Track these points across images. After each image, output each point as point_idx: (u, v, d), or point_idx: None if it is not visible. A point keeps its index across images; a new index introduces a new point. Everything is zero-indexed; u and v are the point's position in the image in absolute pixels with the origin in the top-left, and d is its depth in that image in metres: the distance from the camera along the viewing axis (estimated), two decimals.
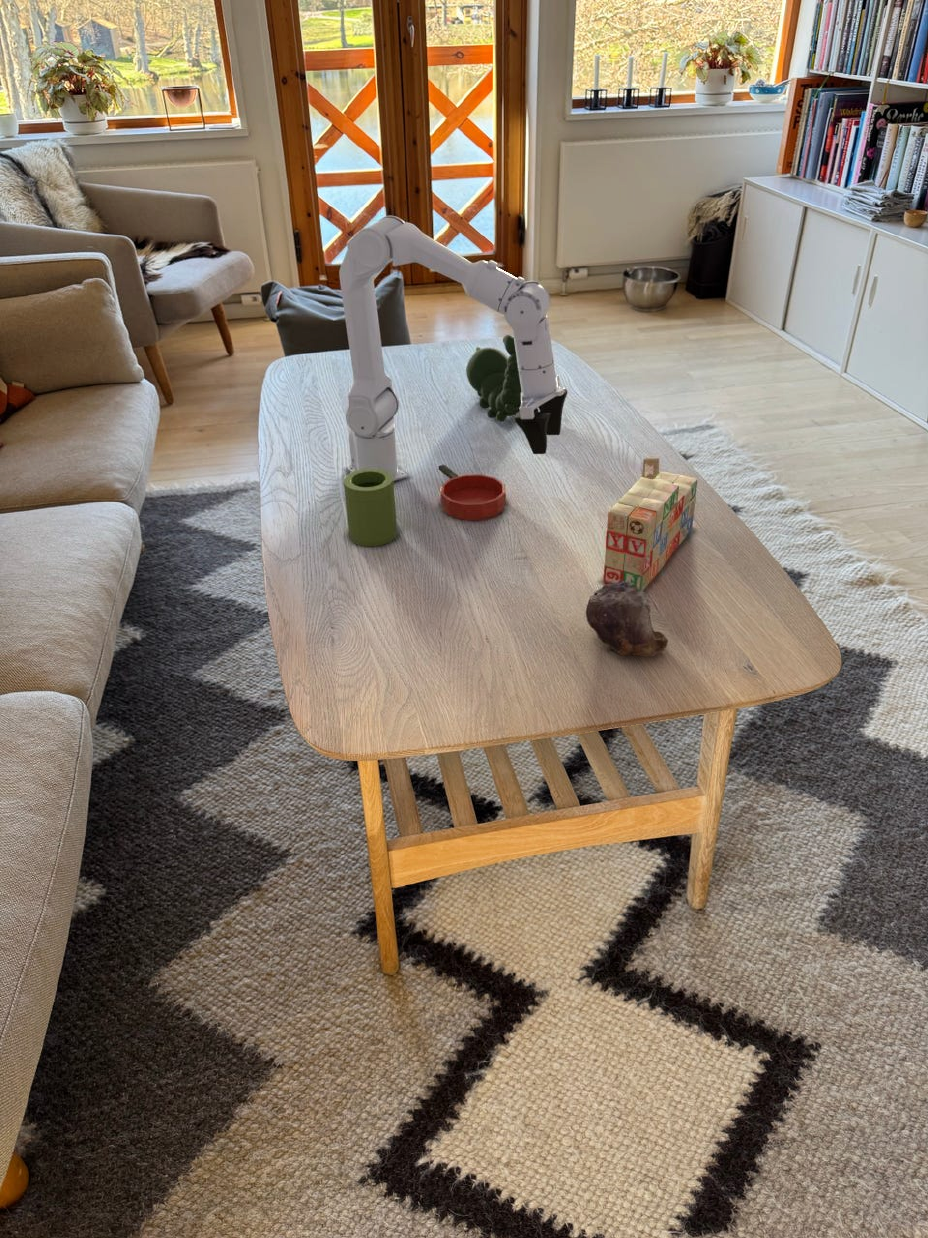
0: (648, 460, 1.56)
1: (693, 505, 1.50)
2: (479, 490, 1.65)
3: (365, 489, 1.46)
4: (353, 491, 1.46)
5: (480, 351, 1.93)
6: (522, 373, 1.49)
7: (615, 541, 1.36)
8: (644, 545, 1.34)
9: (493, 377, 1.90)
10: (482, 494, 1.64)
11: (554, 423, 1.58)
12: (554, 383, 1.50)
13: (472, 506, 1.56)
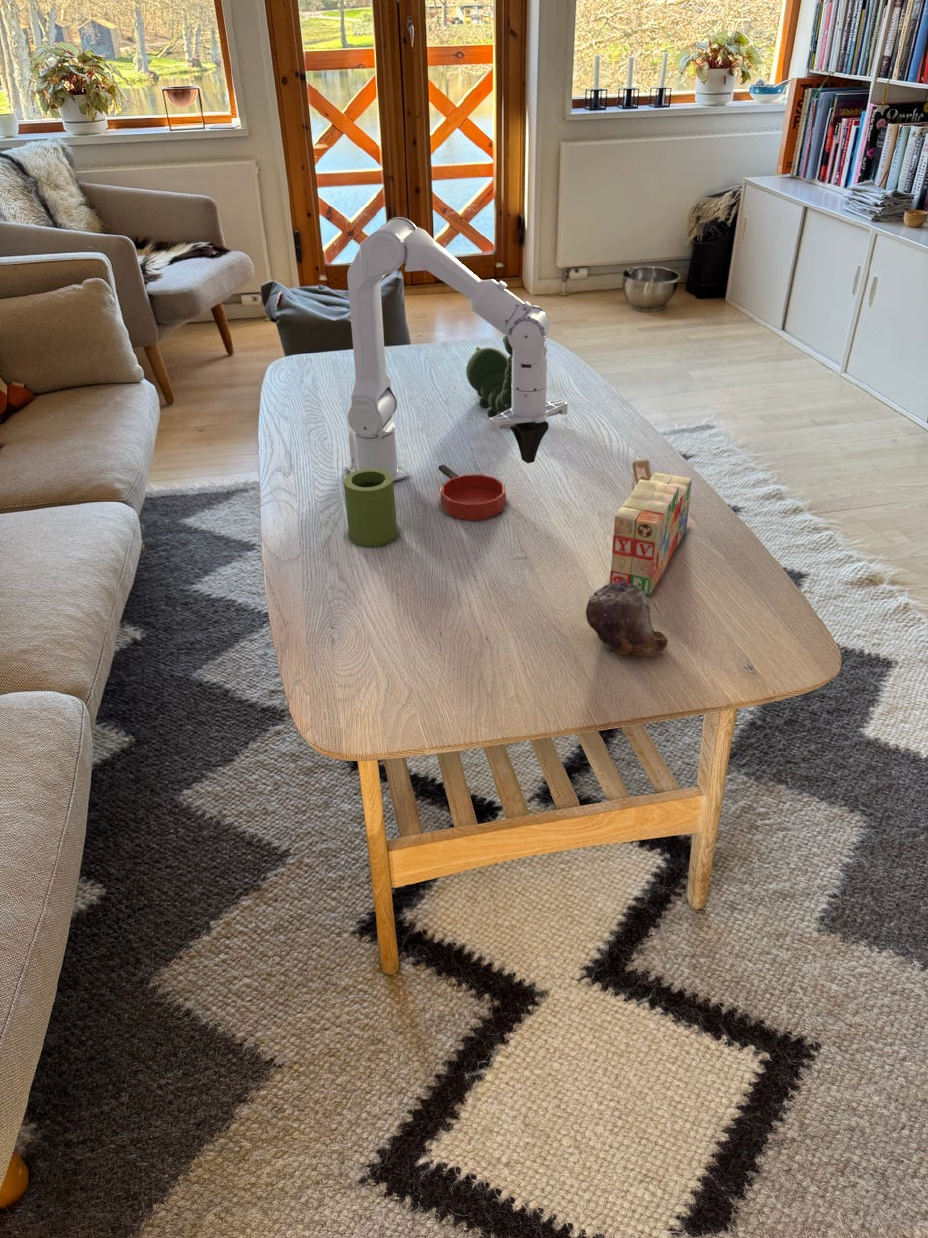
0: (638, 462, 1.55)
1: (688, 505, 1.50)
2: (479, 490, 1.65)
3: (365, 489, 1.46)
4: (353, 491, 1.46)
5: (480, 351, 1.93)
6: None
7: (622, 545, 1.35)
8: (652, 548, 1.33)
9: (493, 377, 1.90)
10: (482, 494, 1.64)
11: None
12: (535, 409, 1.55)
13: (472, 506, 1.56)
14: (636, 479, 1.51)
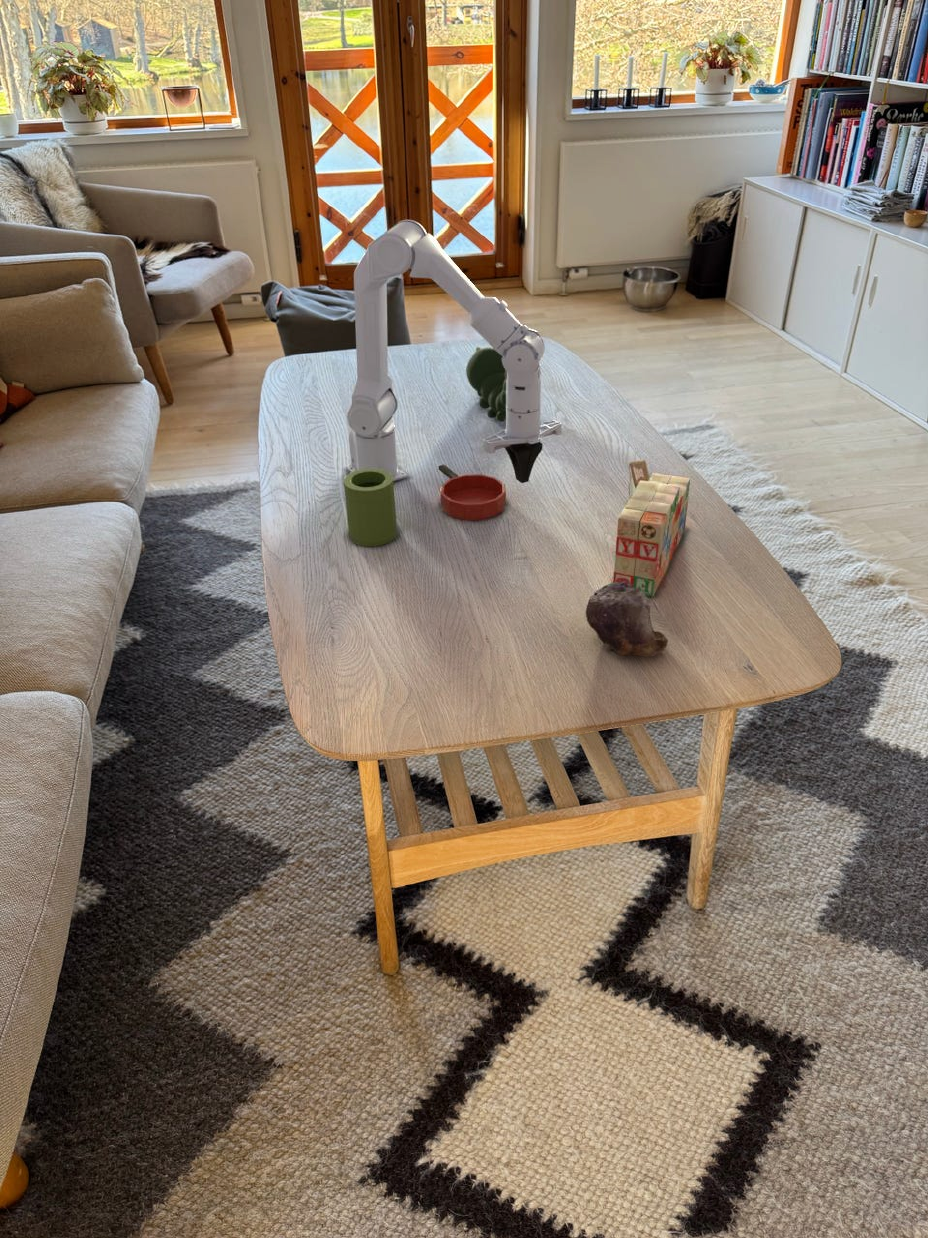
0: (635, 463, 1.55)
1: (686, 505, 1.50)
2: (479, 490, 1.65)
3: (365, 489, 1.46)
4: (353, 491, 1.46)
5: (480, 351, 1.93)
6: (506, 410, 1.57)
7: (626, 547, 1.35)
8: (656, 549, 1.33)
9: (493, 377, 1.90)
10: (482, 494, 1.64)
11: None
12: (529, 430, 1.57)
13: (472, 506, 1.56)
14: (634, 480, 1.51)
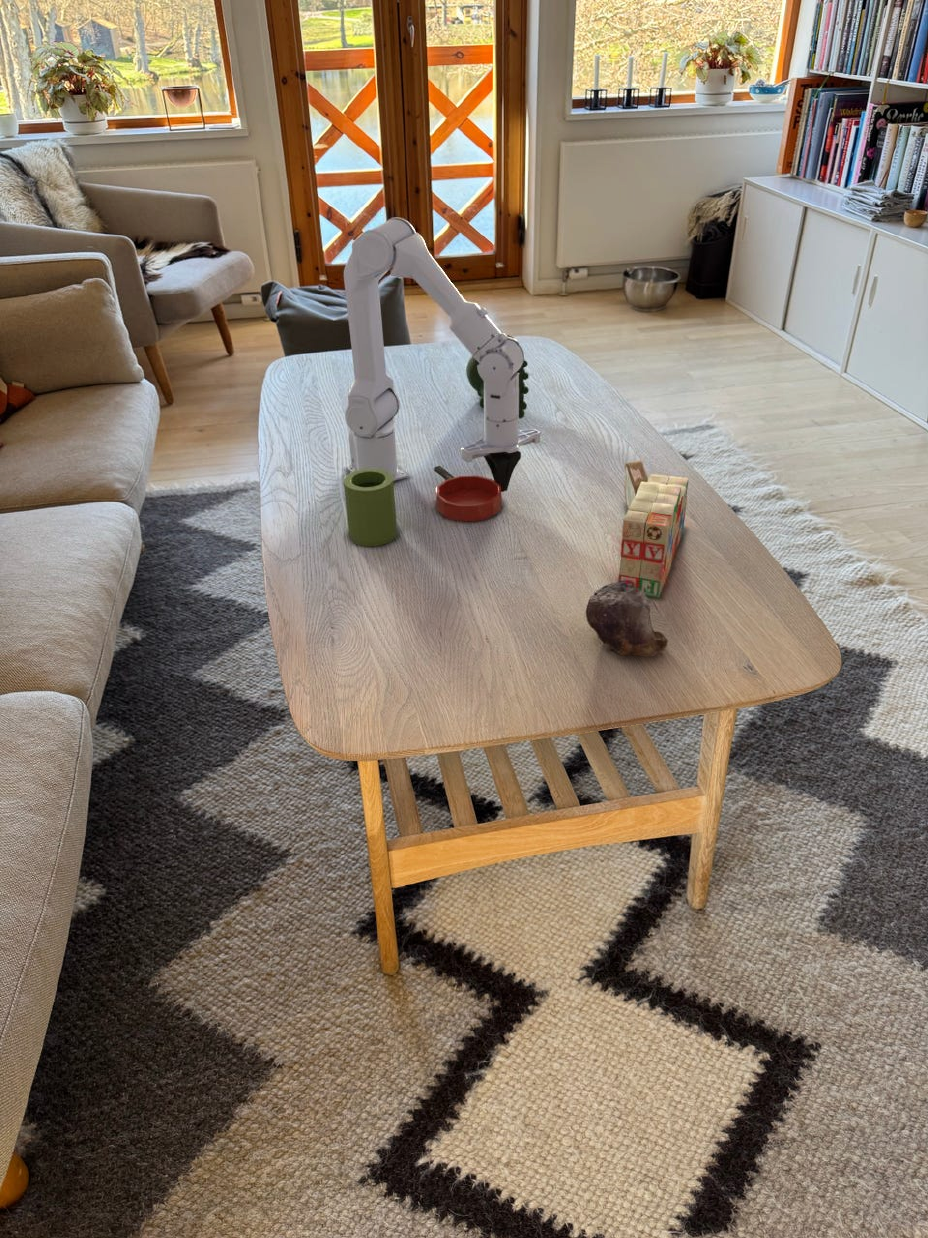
0: (632, 464, 1.55)
1: (685, 505, 1.50)
2: (475, 491, 1.65)
3: (365, 489, 1.46)
4: (353, 491, 1.46)
5: None
6: (484, 418, 1.56)
7: (631, 549, 1.34)
8: (662, 550, 1.33)
9: None
10: (478, 496, 1.63)
11: None
12: (508, 439, 1.55)
13: (468, 508, 1.56)
14: (633, 481, 1.50)
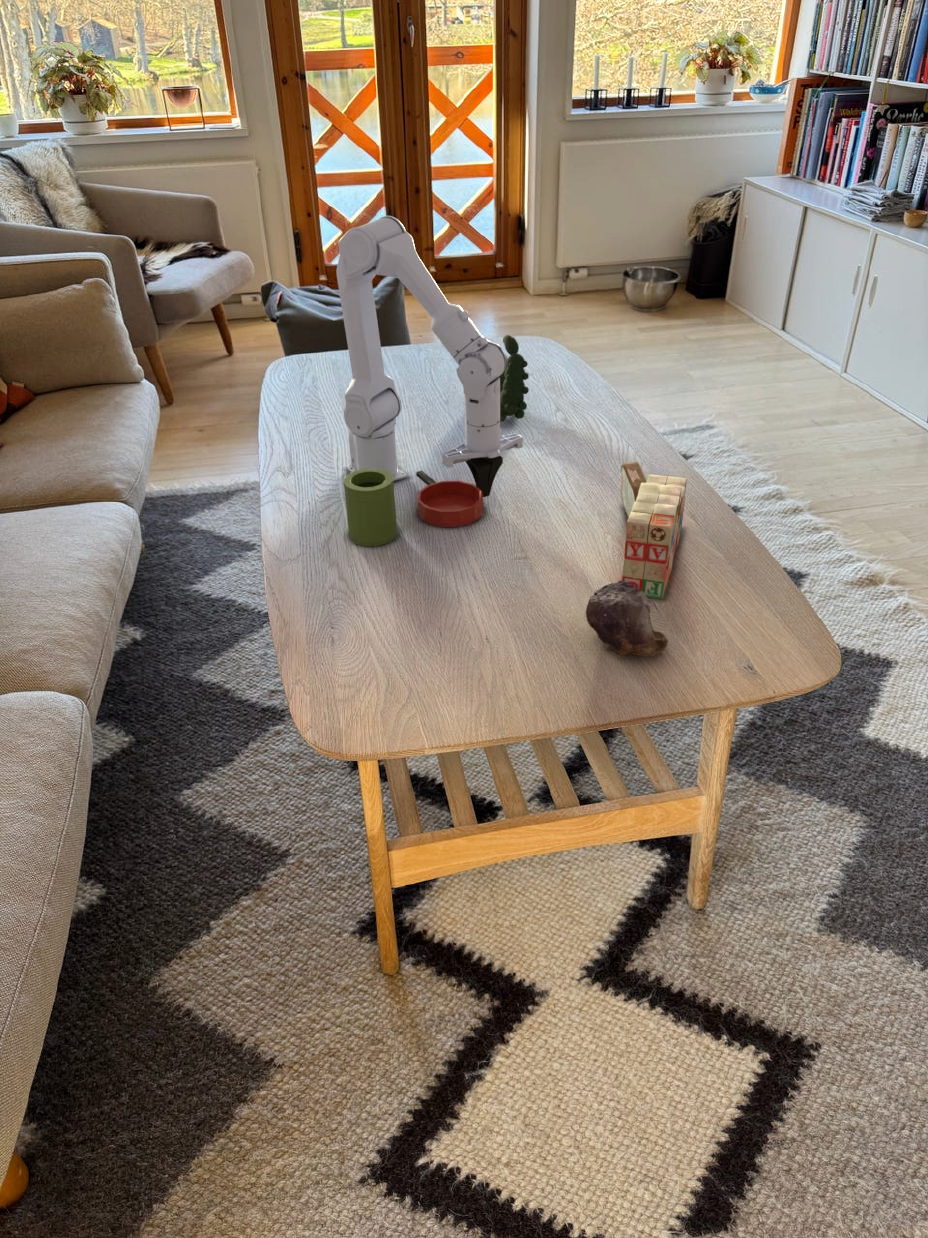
0: (628, 465, 1.55)
1: None
2: (457, 496, 1.63)
3: (365, 489, 1.46)
4: (353, 491, 1.46)
5: None
6: (465, 423, 1.55)
7: (635, 550, 1.34)
8: (665, 551, 1.33)
9: None
10: (460, 501, 1.62)
11: None
12: (489, 444, 1.54)
13: (449, 513, 1.54)
14: (631, 482, 1.50)
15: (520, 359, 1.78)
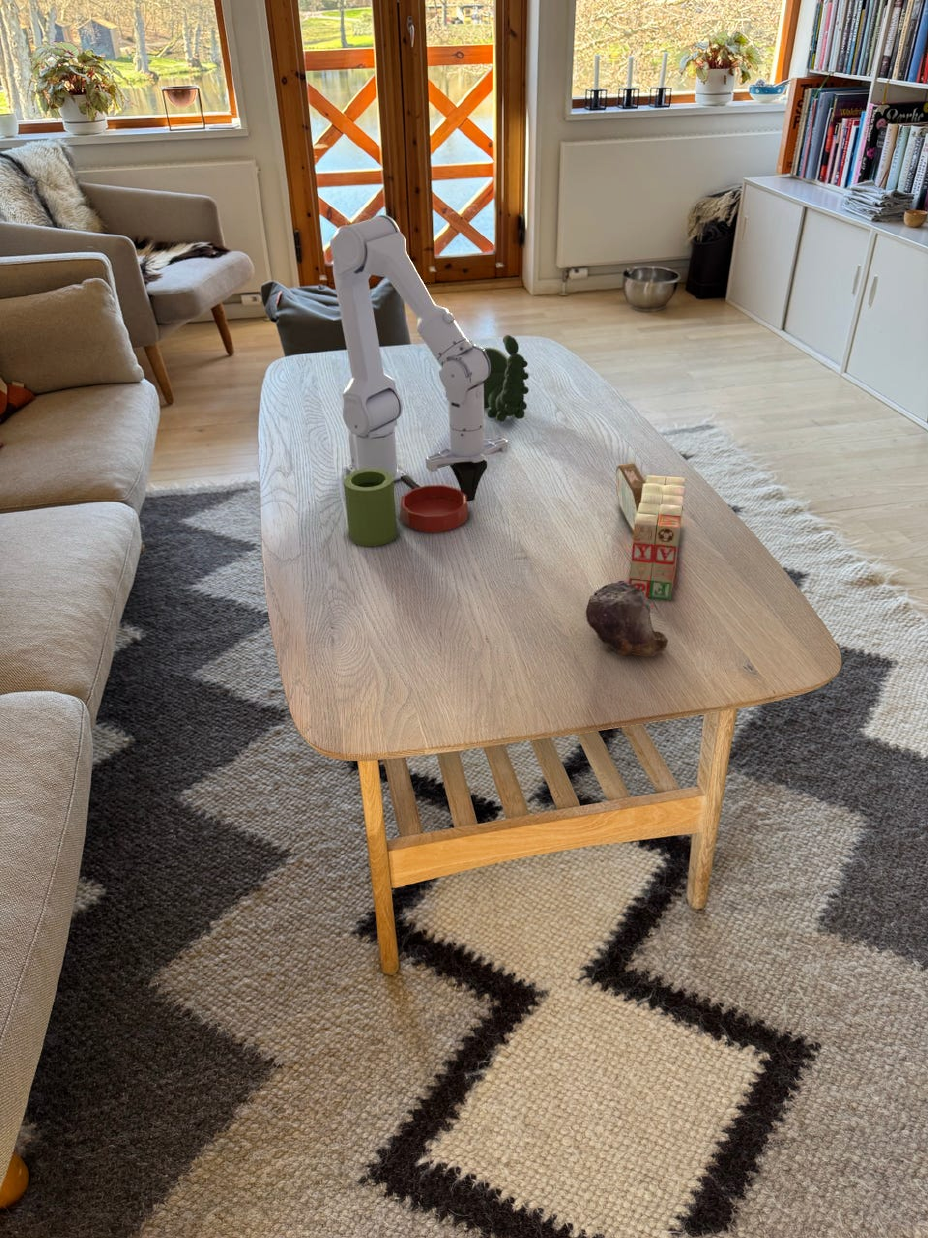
0: (625, 466, 1.54)
1: None
2: (441, 501, 1.62)
3: (365, 489, 1.46)
4: (353, 491, 1.46)
5: None
6: (449, 427, 1.53)
7: (642, 552, 1.33)
8: (673, 551, 1.32)
9: (493, 377, 1.90)
10: (444, 506, 1.61)
11: None
12: (473, 448, 1.53)
13: (432, 518, 1.53)
14: (629, 483, 1.50)
15: (520, 359, 1.78)
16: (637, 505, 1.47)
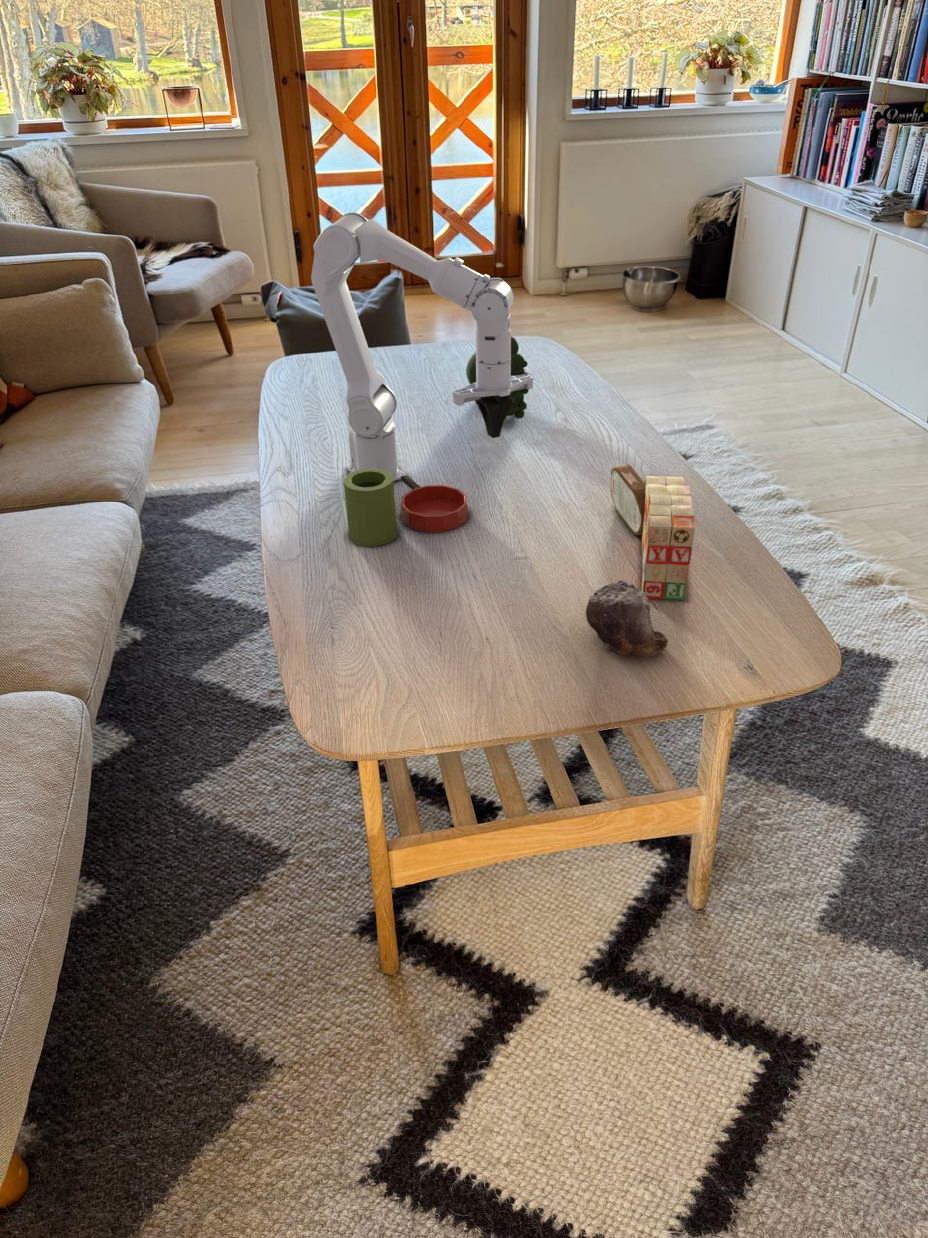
0: (621, 468, 1.54)
1: None
2: (441, 501, 1.62)
3: (365, 489, 1.46)
4: (353, 491, 1.46)
5: None
6: None
7: (657, 554, 1.33)
8: (688, 552, 1.32)
9: None
10: (444, 506, 1.61)
11: None
12: (499, 382, 1.54)
13: (432, 518, 1.53)
14: (629, 485, 1.49)
15: (520, 359, 1.78)
16: (640, 507, 1.47)
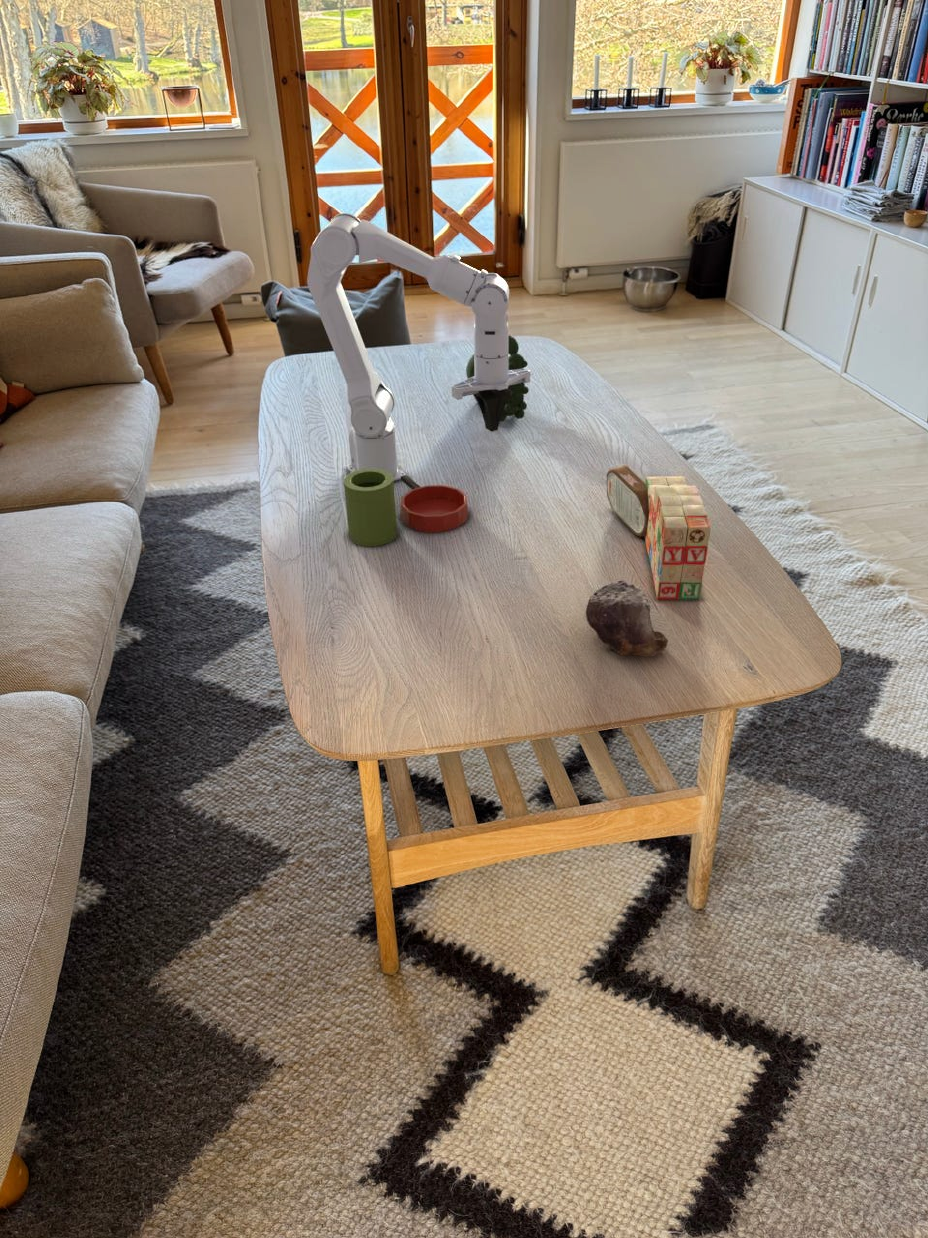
0: (619, 470, 1.53)
1: None
2: (441, 501, 1.62)
3: (365, 489, 1.46)
4: (353, 491, 1.46)
5: None
6: (474, 356, 1.57)
7: (673, 555, 1.33)
8: (704, 551, 1.32)
9: None
10: (444, 506, 1.61)
11: None
12: (497, 376, 1.57)
13: (432, 518, 1.53)
14: (630, 487, 1.49)
15: (520, 359, 1.78)
16: (644, 508, 1.46)
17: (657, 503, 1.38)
